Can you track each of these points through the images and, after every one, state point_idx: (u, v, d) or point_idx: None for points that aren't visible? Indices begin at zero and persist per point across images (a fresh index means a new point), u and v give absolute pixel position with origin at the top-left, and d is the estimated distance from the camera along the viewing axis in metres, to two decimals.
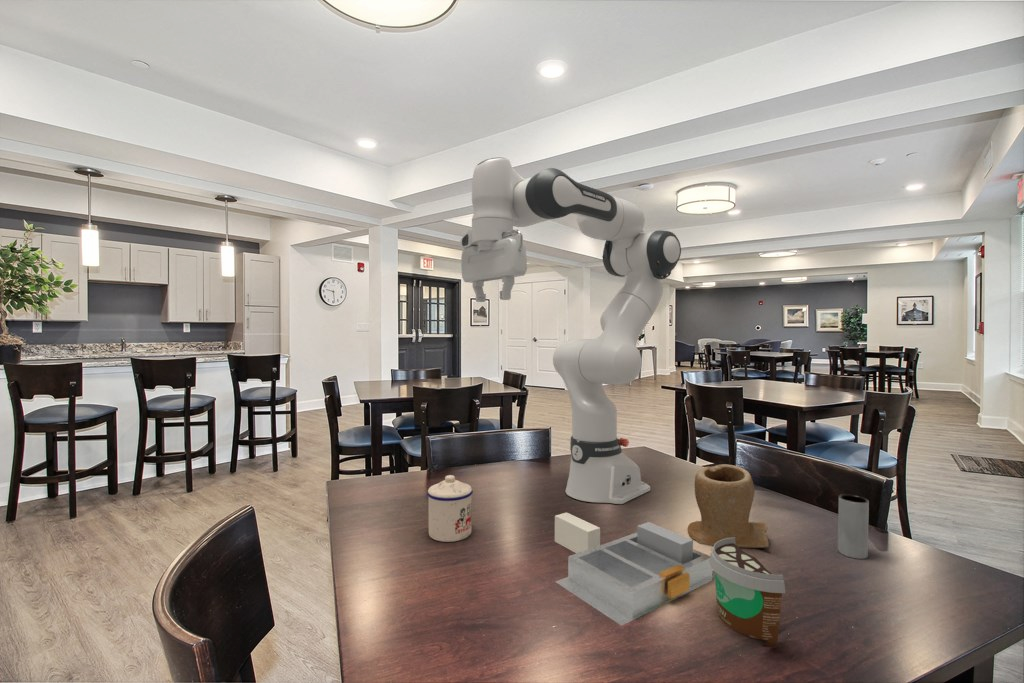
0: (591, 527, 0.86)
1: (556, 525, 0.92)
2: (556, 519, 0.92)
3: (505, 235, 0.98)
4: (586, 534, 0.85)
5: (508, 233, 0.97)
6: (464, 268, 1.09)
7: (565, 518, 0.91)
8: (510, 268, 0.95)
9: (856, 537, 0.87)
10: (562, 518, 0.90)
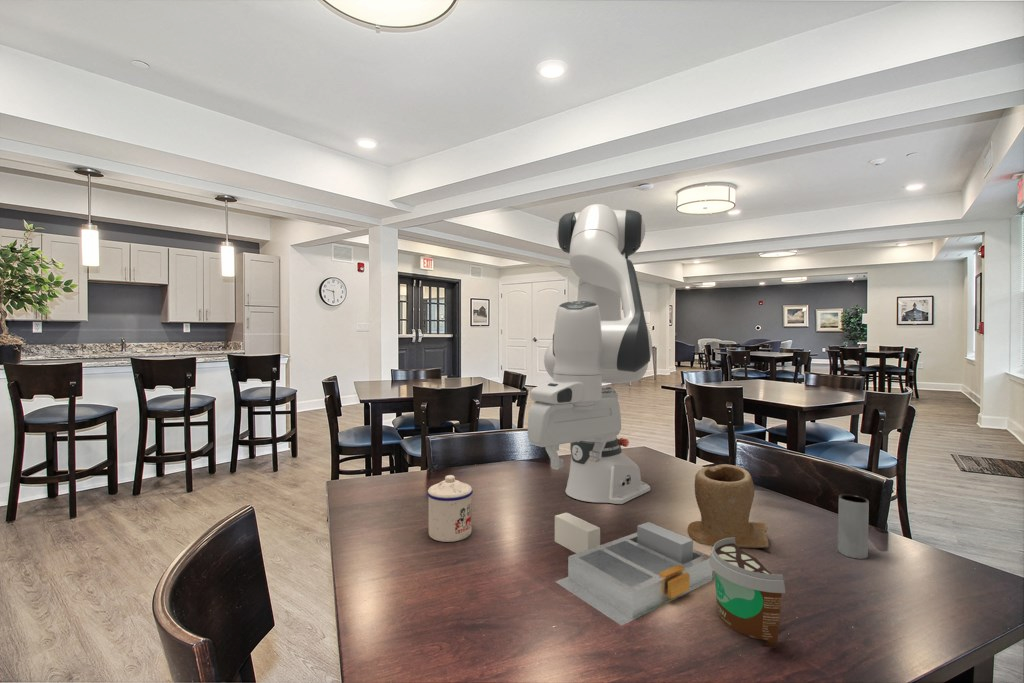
0: (591, 527, 0.86)
1: (556, 525, 0.92)
2: (556, 519, 0.92)
3: None
4: (586, 534, 0.85)
5: (604, 390, 0.92)
6: (547, 429, 0.82)
7: (565, 518, 0.91)
8: (619, 429, 0.92)
9: (856, 537, 0.87)
10: (562, 518, 0.90)
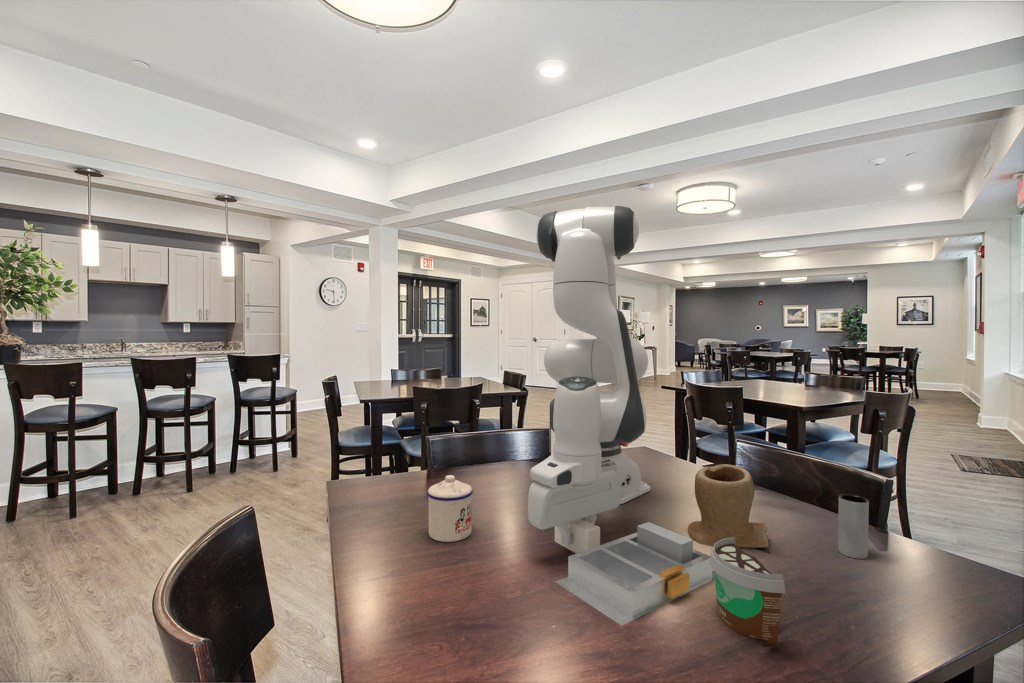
0: (591, 526, 0.86)
1: None
2: None
3: None
4: (586, 534, 0.85)
5: (604, 464, 0.92)
6: (547, 512, 0.83)
7: None
8: (618, 502, 0.93)
9: (856, 537, 0.87)
10: None
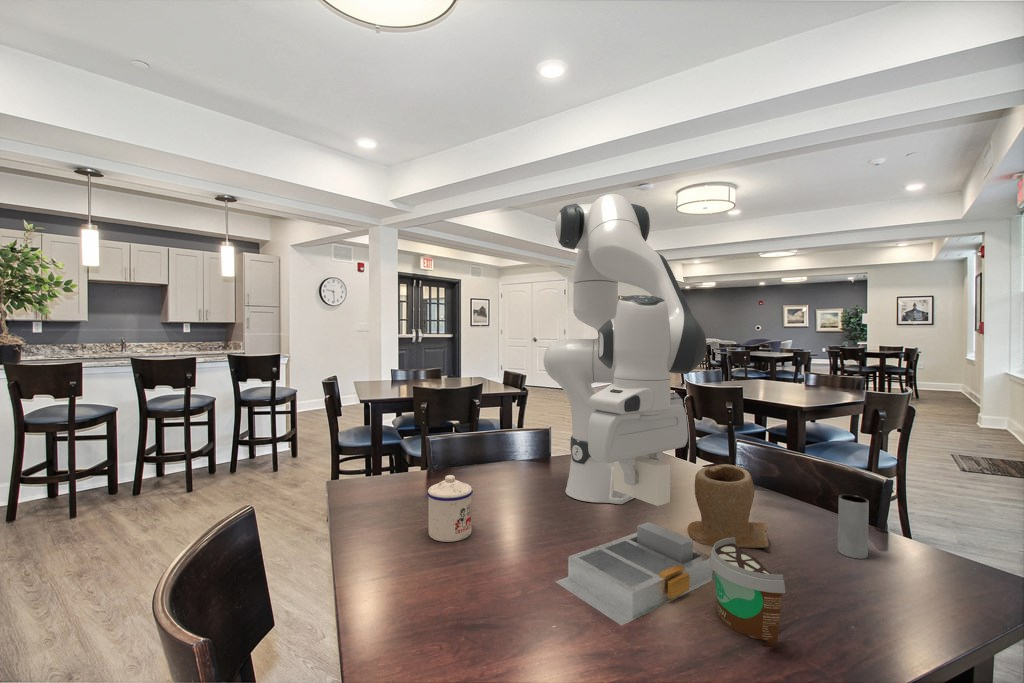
0: (660, 463, 0.75)
1: (615, 465, 0.80)
2: None
3: None
4: (655, 470, 0.74)
5: (669, 396, 0.81)
6: (612, 442, 0.71)
7: None
8: (686, 440, 0.82)
9: (856, 537, 0.87)
10: None
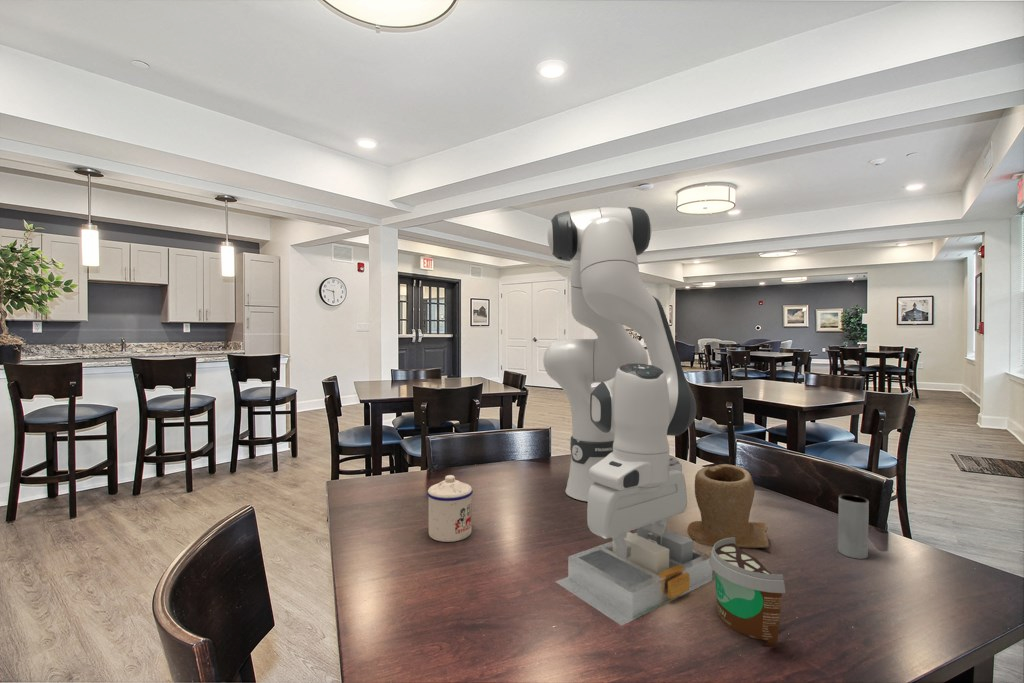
0: (658, 548, 0.76)
1: (614, 545, 0.81)
2: None
3: None
4: (654, 557, 0.74)
5: (668, 463, 0.81)
6: (611, 518, 0.72)
7: None
8: (685, 506, 0.82)
9: (856, 537, 0.87)
10: None
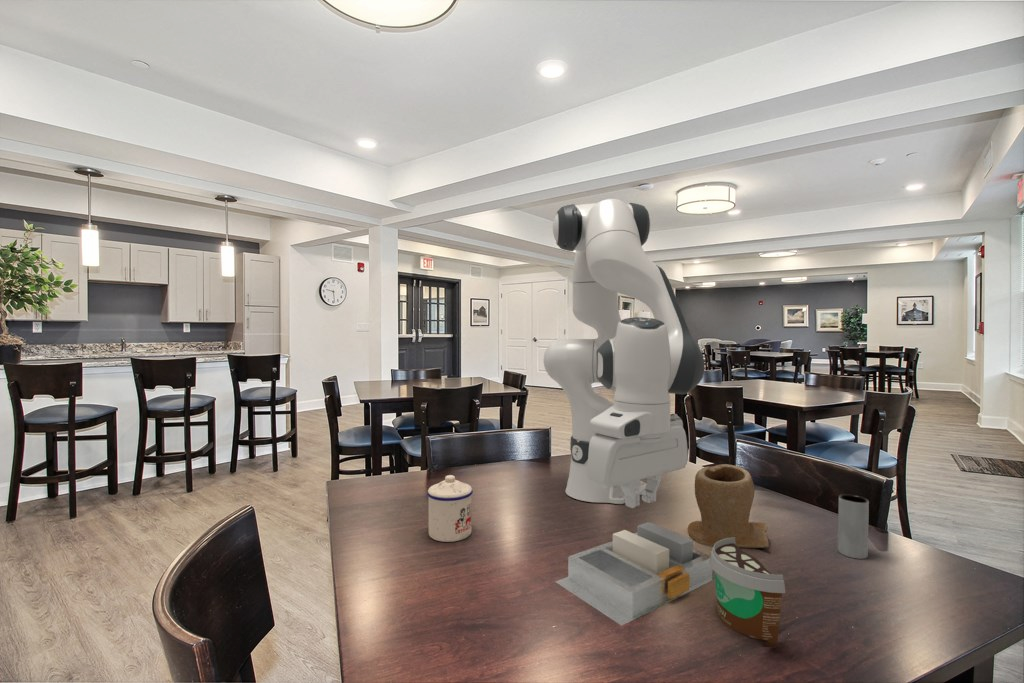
0: (658, 548, 0.76)
1: (614, 545, 0.81)
2: (614, 538, 0.81)
3: None
4: (654, 557, 0.74)
5: (669, 418, 0.81)
6: (612, 467, 0.71)
7: (625, 537, 0.80)
8: (686, 461, 0.82)
9: (856, 537, 0.87)
10: (622, 537, 0.79)
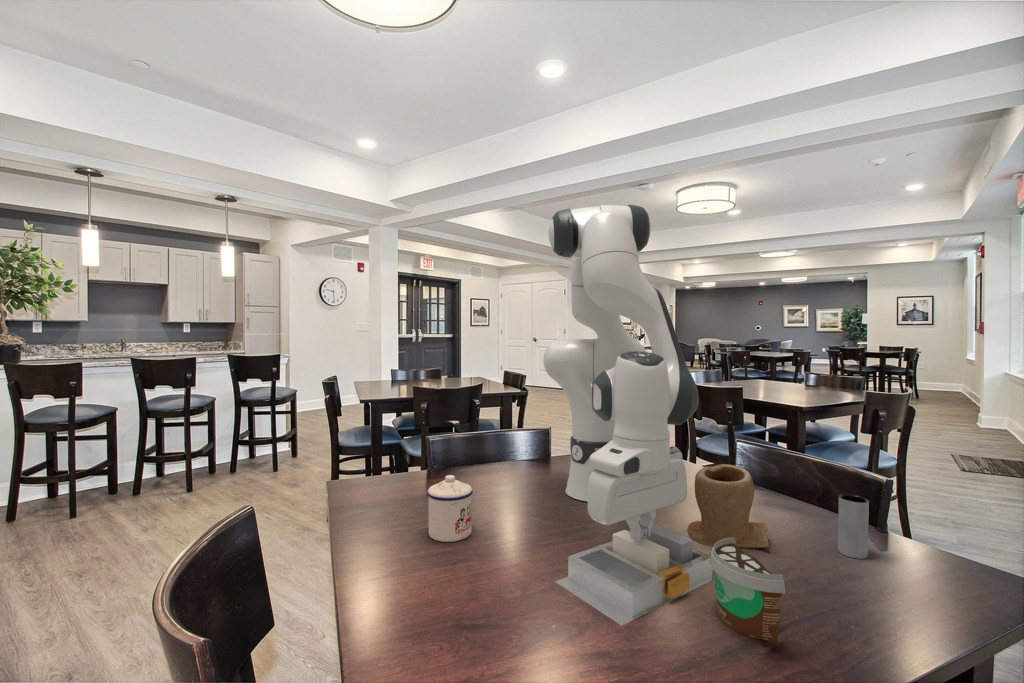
0: (658, 548, 0.76)
1: (614, 545, 0.81)
2: (614, 538, 0.81)
3: None
4: (654, 557, 0.74)
5: None
6: (612, 505, 0.72)
7: (625, 537, 0.80)
8: (685, 494, 0.82)
9: (856, 537, 0.87)
10: (622, 537, 0.79)
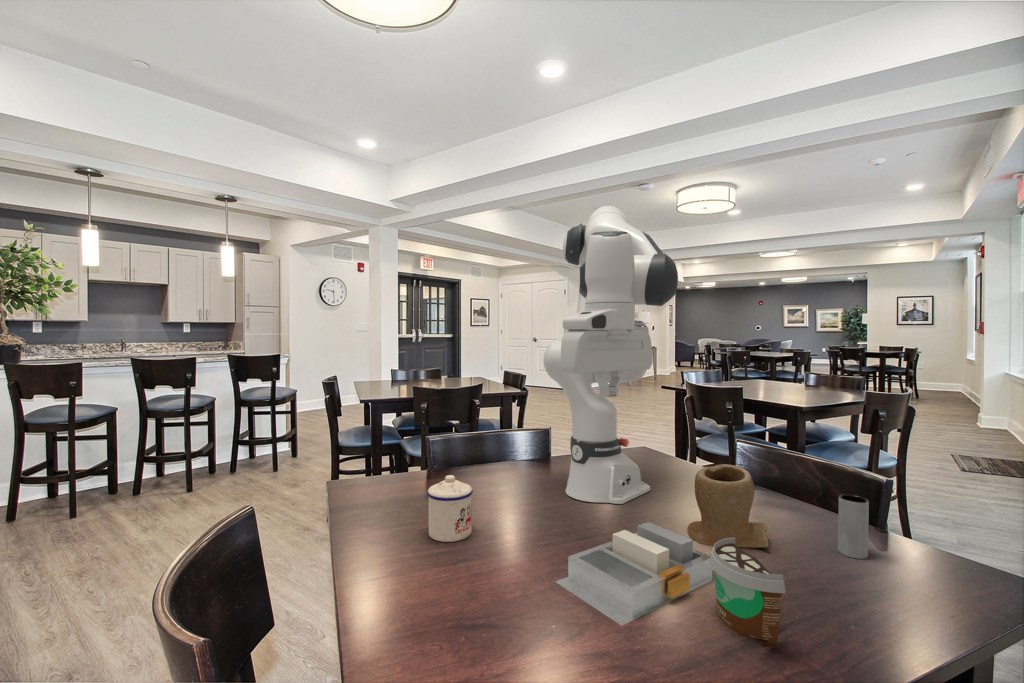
0: (658, 548, 0.76)
1: (614, 545, 0.81)
2: (614, 538, 0.81)
3: None
4: (654, 557, 0.74)
5: (635, 323, 0.91)
6: (581, 355, 0.81)
7: (625, 537, 0.80)
8: (650, 363, 0.91)
9: (856, 537, 0.87)
10: (622, 537, 0.79)
